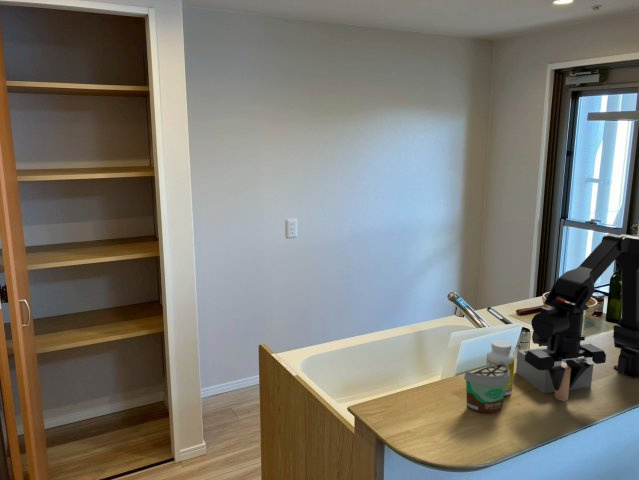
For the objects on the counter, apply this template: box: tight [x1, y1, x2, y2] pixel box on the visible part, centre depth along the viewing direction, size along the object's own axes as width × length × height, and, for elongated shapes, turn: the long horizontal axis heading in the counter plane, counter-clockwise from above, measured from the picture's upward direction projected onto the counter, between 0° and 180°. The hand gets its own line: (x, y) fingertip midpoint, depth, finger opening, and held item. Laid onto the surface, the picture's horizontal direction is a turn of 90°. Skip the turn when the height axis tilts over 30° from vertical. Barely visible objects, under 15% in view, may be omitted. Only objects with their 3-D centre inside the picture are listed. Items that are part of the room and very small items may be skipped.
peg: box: [554, 365, 571, 401], centre depth 126 cm, size 3×3×8 cm
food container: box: [464, 361, 510, 415], centre depth 122 cm, size 12×6×10 cm, turn 117°
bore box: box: [515, 346, 595, 394], centre depth 138 cm, size 14×12×6 cm
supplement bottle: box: [485, 339, 515, 397], centre depth 131 cm, size 7×7×13 cm
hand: (562, 388), depth 126 cm, fingers closed on peg, 3 cm apart
